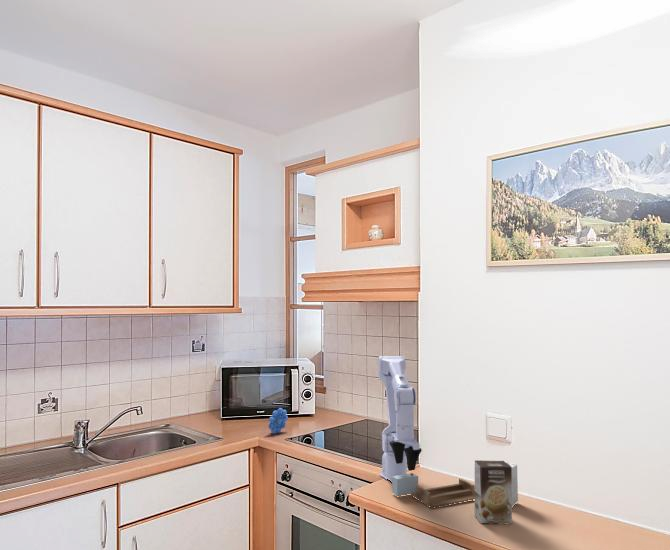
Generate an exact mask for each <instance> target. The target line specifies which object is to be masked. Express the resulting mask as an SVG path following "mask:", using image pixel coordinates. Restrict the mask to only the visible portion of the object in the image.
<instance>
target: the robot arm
mask: <svg viewBox="0 0 670 550" xmlns="http://www.w3.org/2000/svg"><path fill="white" fill-rule="evenodd" d="M406 364H407V363H406V358H405V356H404V355H397V356H396V355H395V356H394V355H391V356H387V355H386V356H385V355H383V356H382V355H380V356H379V357H378V359H377V371H378V378H379V381H381V382H383V383H384V387H385V388H384V389H385V398H386V408H387V418H388V419H387V421H388V426H387V427H385V428H384V429H383V430H382V432H381V447H382V451H383V452H384V453H383V454H382V456H381V473H380V474H379V476H380V477H382V478H383V479H385V480H387V479H390V481H391V482H392V476H398V475H404V474H408V471H415V469H416V466H417V462H418V460H419V456H420V454H421V453H422V451H423V450H422V448H421V447H420V446H421V445H420V442H418V441H417V440H416V439H415V433H414V432H415V425H414V423H415V422H414V421H415V419H414V411H415V409H414V408H415V407H414V406H415V405H416V400H417V394H416V389H415V388H414V386H411V385H410V383H409V380H408V378H407V376H406V375H405V372H406V368H407V367H406ZM390 481H389V482H390ZM391 482H390V483H391Z"/></svg>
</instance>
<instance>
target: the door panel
mask: <svg viewBox="0 0 670 550" xmlns="http://www.w3.org/2000/svg"><path fill="white" fill-rule="evenodd" d="M391 484H392V487H391V488H392V489H391V490H392V493H394V494H395V495H396V496H401V495H407V494H412V493H416V486H419V475H417V474H416V473H413V472H411V473H407V474H404V475H398V476H392V483H391Z"/></svg>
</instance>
